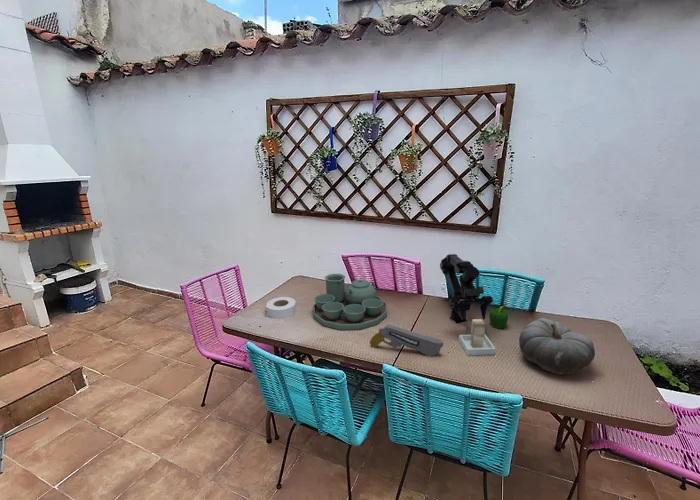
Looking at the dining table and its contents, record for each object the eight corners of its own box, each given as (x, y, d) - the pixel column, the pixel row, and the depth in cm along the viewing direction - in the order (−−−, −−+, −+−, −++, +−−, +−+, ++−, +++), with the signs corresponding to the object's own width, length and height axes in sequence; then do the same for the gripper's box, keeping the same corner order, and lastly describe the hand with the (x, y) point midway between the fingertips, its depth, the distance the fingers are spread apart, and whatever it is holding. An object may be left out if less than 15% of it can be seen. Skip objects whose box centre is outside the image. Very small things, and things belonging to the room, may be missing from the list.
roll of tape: (291, 319, 177) (290, 310, 176) (262, 318, 180) (261, 308, 178) (300, 306, 192) (299, 297, 190) (273, 305, 194) (272, 296, 193)
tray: (458, 340, 153) (459, 334, 152) (484, 340, 153) (485, 334, 152) (467, 355, 142) (467, 349, 141) (495, 355, 142) (495, 348, 141)
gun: (427, 375, 146) (444, 345, 140) (367, 346, 150) (381, 316, 144) (427, 370, 149) (444, 340, 143) (369, 342, 153) (383, 312, 147)
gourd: (528, 331, 154) (539, 300, 146) (591, 361, 139) (607, 328, 131) (506, 361, 138) (516, 327, 130) (575, 398, 123) (591, 363, 115)
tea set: (300, 324, 172) (298, 294, 168) (331, 293, 208) (330, 268, 203) (375, 337, 159) (375, 305, 154) (395, 301, 194) (395, 274, 190)
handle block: (470, 344, 150) (472, 319, 146) (479, 343, 149) (481, 319, 146) (473, 349, 146) (475, 324, 142) (482, 348, 146) (485, 323, 142)
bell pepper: (496, 331, 160) (498, 312, 157) (485, 323, 168) (487, 304, 165) (511, 328, 162) (513, 309, 159) (499, 320, 170) (501, 302, 167)
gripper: (451, 280, 150) (457, 314, 143) (493, 279, 150) (501, 313, 143) (445, 289, 160) (450, 322, 153) (485, 288, 160) (492, 321, 153)
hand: (473, 319), depth 150 cm, fingers open, 9 cm apart
